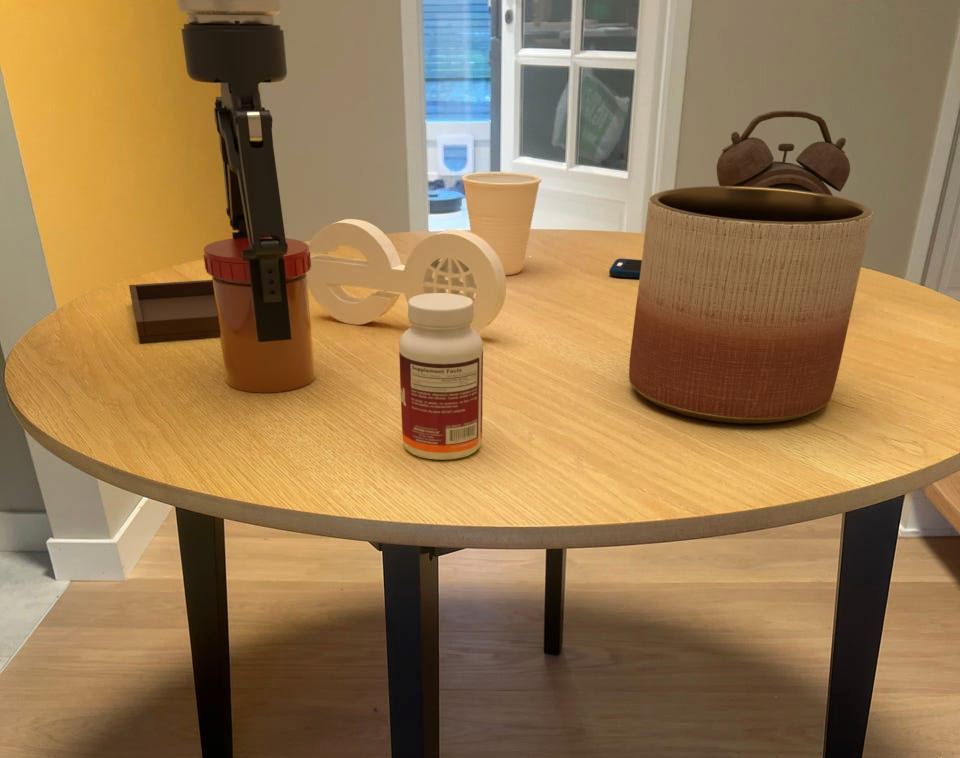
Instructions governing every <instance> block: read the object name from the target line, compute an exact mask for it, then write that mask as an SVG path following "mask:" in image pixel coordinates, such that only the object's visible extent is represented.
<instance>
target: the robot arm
mask: <svg viewBox="0 0 960 758" xmlns="http://www.w3.org/2000/svg"><path fill="white" fill-rule="evenodd" d="M176 7H177V10H178V11H179V12H180V13H181V14H186V19H187V23H183V28H181V29H180V31H181V37H182V44H183V52H184V59H185V67H186V74H187V76H188V77H189V78H190V79H191V80H193V81H195V82H200V83H207V84H218V83H219V84H220V86H219V87H220V88H219V89H220V96H216V97H215V101H214V107H213V114H214V115H213V116H214V122H215V127H216V130H217V133H218V139H219V141H218V142H219V150H220V155H221V158H222V167H223V178H224V188H225V199H226V209H225V213H226V215H227V217H228V220H229V226H230V227H231V229H232V231H233V232H231V235H232V239H233V238H243V237H248V240H249V246H250V249H249V250H242V255H241V256H242V260H243V261H248V260H249V269H250V277H251V286H252V295H253V303H254V312H255V321H256V329H257V338H258V341H259V342H267V341H279V340H291V329H290V319H289V308H288V298H287V288H286V277H285V267H284V258H283V257H284V255H286V254H287V249H288V245H287V243H286V240H285V238H286V232H285V225H284V218H283V211H282V209H283V208H282V201H281V193H280V187H279V180H278V171H277V165H276V157H275V149H274V138H273V137H274V136H273V116H272V115H271V111H270V109H266V108H265V107H264V106H262V99H261V93H260V90H259V89H260V88H259V84H261V83H267V84H268V83H271V84H272V83H278V82H279V83H280V82H283V81H284V80H285V79H286V78H287V76H288V75H287V74H288V68H287V58H286V45H285V44H286V43H285V33H284V29H282V27H281V25H280V24H275V21H274V20H275V19H274V16H279V15H280V13H281V12H282V8H281V0H176ZM261 237H271V239H260V238H261Z"/></svg>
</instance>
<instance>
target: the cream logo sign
mask: <svg viewBox="0 0 960 758" xmlns="http://www.w3.org/2000/svg"><path fill="white" fill-rule="evenodd" d="M307 245H308V246H309V252H310V253H313V255H310V258H311V267H310V270H309V271H308V272H307V273H306V274H307V283H308V290H309V291H310V292H311V294H312V296H313V298H314V300H315V302H317V304H318V305H319V307H321V309H322V310H323V311H324V312H326V314H328V315H329V316H331V317H332V318H333V319H335V320H337V321H339V322H340V323H344V324H348V325H349V324H350V325H365V324H369V323H370V322H371V323H372V322H373V321H375V320H377V319H378V318H381V317H383V316H384V315H386V314H387V313H388V312H390V310H391V309H392V308H393V307H394V306H395V305H396V303H397V302H398V300H399V298H400V296H401V294H404V297H405V300H406V302H407V303H408V301H409V299H410V298H412V297H414V296H417V295H422V294H429V293H449V294H457V295H462V296H466V297H469V298H470V299H472V300H473V308H474V318H473V321H472V323H471V324H470V327H471V328H473V329H474V330H475V331H477V332H478V333H479V332H480V331H482V330H484V329H485V328H486V327H488V326H490V325H491V324H492V323H493V322H494V321H495V320H496V318H497V317H498V316H499V314H500V313H501V311H502V309H503V306H504V304H505V300H506V295H507V277H506V275H505V272H504V269H503V266H502V264H501V261H500V259H499V257H498V256H497V254H496V253H495V252H494V250H493V249H492V248H491V247H490V245H489V244H488V243H487V242H485V241H484V240H483V239H482V238H480V237H478V236H477V235H475V234H473V233H471V231H467V230H462V229H446V230H443V231H440V232H437V233H435V234H432V235H430V236H428V237H426V238H424V239H423V240H422V241H420V242H419V243H417V245H416V246H414V247H413V249H412V250H411V252H409V255H408V257H407V259H406V261H405V264H402V262H401V259H400V256H399V253H398V251H397V249H396V247H395V245H394V244H393V243H392V241H391V240H390V239H389V237H388V236H387V235H386V234H385V232H383V231H382V230H381V229H380V228H378V227H377V226H376V225H374V224H373V223H370V222H368V221H367V220H362V219H355V218H345V219H341V220H339V221H336V222H333V223H330V224H327V225H325V226H324V227H321V228H320V229H319V230H318V231H317V232H316V233H315V234H314V235H313V236H312V237H311V240H310V242H309V243H308V244H307ZM343 246H345V247H346V246H347V247H350V248H353V249H356V250H357V251H359V252H360V253H361V255H362V256H364V258H365V259H356V258H350V257H349V258H348V257H340V256H331V255H329V254H332V253H334V252H336V251H339V250H340V249H341V248H342V247H343ZM446 278H447V279H446ZM461 279H462V281H461ZM342 286H346V287H354V288H361V289H367V290H368V289H369V290H376V291H375V292H373V293H371V294H369V295H367V296H366V297H356V296H353V295H352V294H350V293H348V292H347V291H346V290H345V289H344V288H343V287H342ZM447 290H448V292H447ZM475 294H476V296H475V298H474V295H475Z"/></svg>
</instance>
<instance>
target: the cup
mask: <svg viewBox="0 0 960 758" xmlns="http://www.w3.org/2000/svg"><path fill="white" fill-rule="evenodd" d="M542 180H543V179H542V177H541V176H539V175H535V174H531V173H526V172H516V171H514V172H513V171H479V172H477V171H476V172H470V173H466V174H464V175H462V176H461V181H462V182H463V187H464V194H465V203H466V209H467V215H468V220H469V221H468V223H469V228H470V231H469V232H470V233H473V234H475V235H477V236H478V237H480V238H482V239H483V240H484V241H485V242H487V243H488V244H489V245H490V247H491V248H492V249H493V250H494V252H495V253H496V254H497V256H498V257H499V259H500V261H501V264H502V266H503V269H504V272H505V276H512V275H516V274H519V273H520V272H521V271H522V270H523V268H524V264H525V259H526V254H527V248H528V242H529V237H530V232H531V227H532V221H533V217H534V212H535V207H536V202H537V196H538V192H539V187H540V183H542Z"/></svg>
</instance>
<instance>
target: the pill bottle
mask: <svg viewBox="0 0 960 758" xmlns="http://www.w3.org/2000/svg"><path fill="white" fill-rule="evenodd" d="M473 318H474V308H473V300H472V299H470V298H469V297H466V296H462V295H457V294H449V293H448V292H447V293H429V294H422V295H417V296H414V297H412V298H410V299H409V301H408V302H407V319H408V322H409V324H411V327H409V328H408V329H406V330H405V331H404V332H403V333H402V334H401V336H400V339H399V343H398V345H399V346H398V356H399V384H400V385H399V388H400V393H399V394H400V409H401V411H400V412H401V413H400V414H401V436H402V437H401V438H402V443H403V446H404V448H405V449H406V451H408V452H409V453H410V454H412V455H414V456H416V457H419V458H423V459H429V460H435V461H436V460H438V461H439V460H440V461H441V460H442V461H444V460H445V461H447V460H448V461H449V460H457V459H461V458H465V457H468V456H471V455H472V454H474V453H475V452H476V451H478V449H479V448H480V447H481V445H482V441H483V440H482V439H483V397H484V395H483V394H484V393H483V392H484V391H483V390H484V388H483V387H484V386H483V385H484V343H483V339H482V337H481V335H480V334H479V332H477V331H475V330H474V329H473V328H471V327H470V324H471V323H472V321H473Z"/></svg>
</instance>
